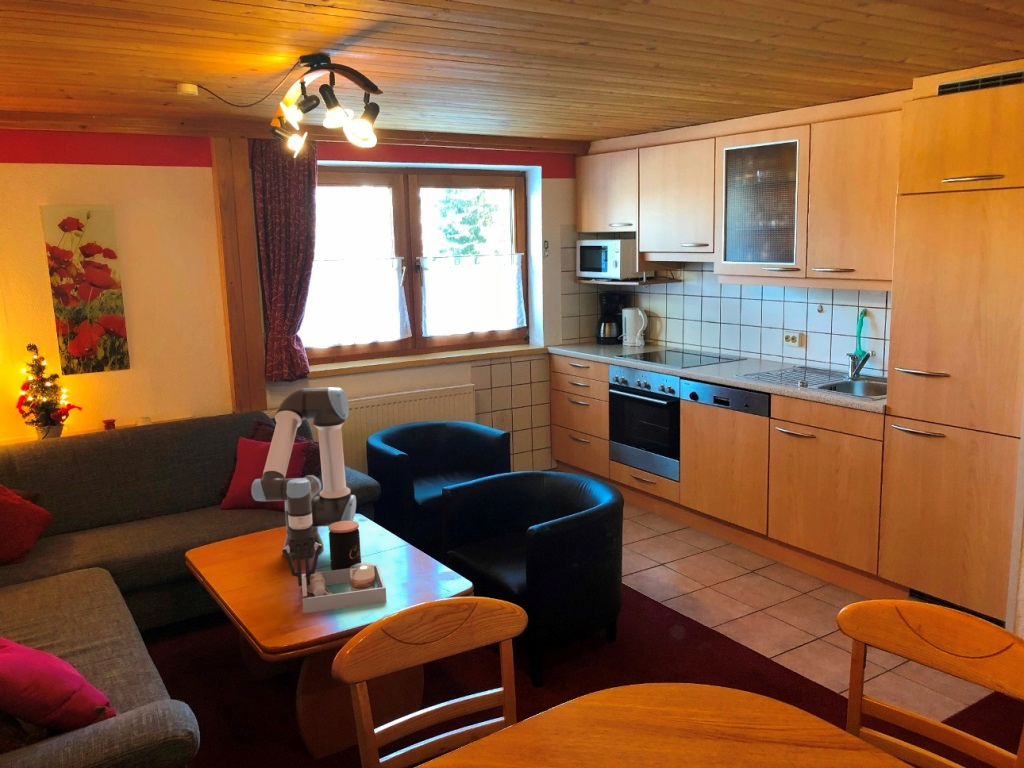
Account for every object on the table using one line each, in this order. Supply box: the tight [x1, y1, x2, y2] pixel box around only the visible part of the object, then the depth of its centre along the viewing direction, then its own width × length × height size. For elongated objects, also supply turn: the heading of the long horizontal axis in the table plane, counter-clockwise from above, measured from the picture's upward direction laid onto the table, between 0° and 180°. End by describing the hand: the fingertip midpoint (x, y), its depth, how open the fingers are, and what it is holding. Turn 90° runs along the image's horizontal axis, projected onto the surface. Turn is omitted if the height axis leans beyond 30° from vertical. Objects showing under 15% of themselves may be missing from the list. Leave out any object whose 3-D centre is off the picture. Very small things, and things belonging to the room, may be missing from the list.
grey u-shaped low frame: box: [300, 564, 387, 615], centre depth 273 cm, size 22×26×5 cm
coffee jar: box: [327, 520, 362, 571], centre depth 291 cm, size 11×11×18 cm
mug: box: [307, 571, 333, 597], centre depth 273 cm, size 8×10×10 cm
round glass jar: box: [349, 562, 376, 592], centre depth 275 cm, size 8×8×9 cm
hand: (304, 594), depth 271 cm, fingers closed
